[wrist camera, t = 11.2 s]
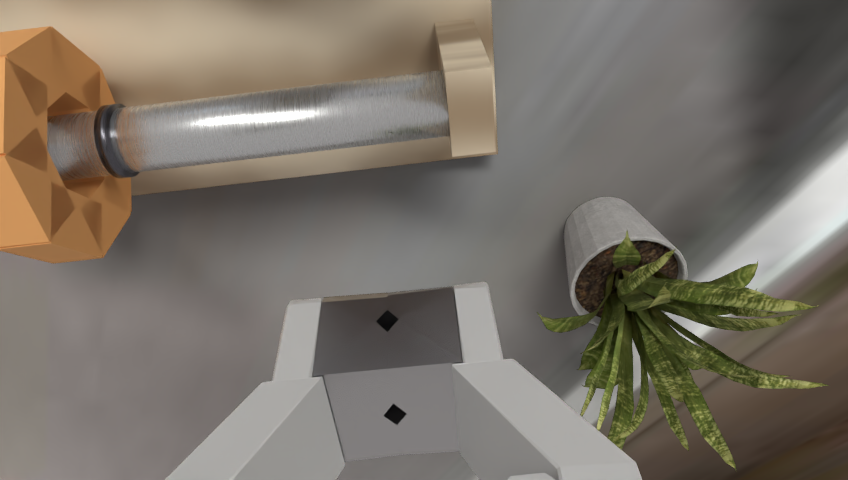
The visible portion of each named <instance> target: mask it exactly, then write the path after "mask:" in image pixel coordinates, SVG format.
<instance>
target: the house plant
mask: <svg viewBox="0 0 848 480" xmlns="http://www.w3.org/2000/svg"><path fill="white" fill-rule="evenodd" d="M564 242H565V252H566V262H567V272H568V282H569V292H570V298H571V302H572V306H573V307H574V309H575V310H576V312H577V313H578V315H579V316H575V317H567V318H558V319H551V318H546V317H542V316H541V315H540V314H538V315H539V316H540V318H541V320H542V321H543V323H544V325H545V326H546V328H547V329H549V330H551V331H553V332H560V333H562V332H568V331H571V330H574V329H576V328H578V327H581V326H583V325H585V324H587V323H590V324H593V325H596V326H598V328H597V331H596V333H595V334H594V336H593V338H592V339H591V341H590V343H589V344H588V346H587V348H586V349H585V351H584V352H583V356H582V360H581V365H580V367H579V369H577V370H587V369H592V371H591V372H590V373H589V375H588V376H587V379H586V381H585V386H584V387H590V388H589V391H588V394H587V397H586V400H585V403H584V406H583V408H582V411H581V414H580V415H581V416H583V414H584V412H585V410H586V408H587V407H588V405H589V403H590V401H591V399H592V397H593V395H594V393H595V390H596V388H601V389H605V392H604V395H603V398H602V403H601V408H600V414H599V419H598V423H597V430H598V431H599V430H600V428H601V425H602V423H603V420H604V418H605V416H606V414H607V411H608V409H609V404H610V400H611V396H612V392H613V389H614V386H616V385H617V384H618V392H617V400H616V407H615V413H614V417H613V421H612V425H611V429H610V432H609V435H608V439H609V440H610V441H611V442H612V443H614V444H615V445H616V446H617V447H618V448H619V449H621V450H622V447H623V445H624V442H625V439H626V437H627V436H628V435H630V434H631V433H632V432H633V431H635V430H636V429H637V428H638V426H639V425H640V423H641V422H642V420H643V418H644V415H645V412H646V409H647V404H648V392H649V386H648V376H647V372H648V374H649V375H650V377H651V380H652V382H653V384H654V387H655V389H656V392H657V394H658V397H659V400H660V402H661V405H662V408H663V410H664V413H665V416H666V418H667V421H668V423H669V426H670V427H671V429H672V430H673V432H674V433H675V435H676V436H677V437H678V438H679V440H680V442H681V444H682V445H683V446H684V447H685V448H686V449H687V450H688V451H689V448H688V443H687V439H686V436H685V433H684V430H683V428H682V425H681V423H680V420H679V418H678V415H677V413H676V410H675V407H674V405H673V402H672V399H671V397H670V395H671V396H672V397H673V398H674V399H676V400H678V401H680V402H683V400H684V402H685V404H686V406H687V408H688V410H689V412H690V414H691V416H692V418H693V420H694V422H695V423H696V425H697V427H698V429H699V431H700V433H701V435H702V436H703V437H704V438H705V440H706V441H707V442H708V443H709V444H710V445H711V446H712V447H713V448H714V449H715V450H716V451H717V452H718V453H719V454H720V456H721V457H722V458H723V460H724V461H725V462H726V463H728V464H729V465H731V466H732V467H734V468H735V470H736V465H735V463H734V461H733V458H732V455H731V453H730V451H729V449H728V447H727V444H726V442H725V440H724V438H723V436H722V434H721V432H720V431H719V429H718V427H717V425H716V423H715V421H714V419H713V417H712V415H711V412H710V410H709V408H708V406H707V404H706V402H705V400H704V398H703V396H702V394H701V392H700V390H699V388H698V387H697V385H696V384H695V383H694V381H693V378H692V376H691V373H690V371H689V369H688V367H689V368H690V369H692V370H698V369H701V368H704V369H706V370H708V371H711V372H715V373H718V374H720V375H722V376H724V377H726V378H729V379H731V380H733V381H735V382H739V383H742V384H745V385H748V386H751V387H755V388H772V389H774V388H797V389H802V388H814V387H819V386H825V385H826V384H821V383H813V382H807V381H800V380H791V379H785V378H782V377H788V376H785V375H775V374H768V373H764V372H761V371H758V370H755V369H752V368H749V367H747V366H745V365H743V364H740V363H738V362H737V361H735V360H733V359H732V358H730V357H728V356H727V355H725V354H724V353H722V352H721V351H719V350H718V349H716V348H715V347H713V346H711V345H710V344H708V343H706V342H705V341H703V340H702V339H700V338H699V337H697V336H695V335H694V334H692V333H691V332H689V331H688V330H686V329H685V328H684V327H682V326H681V325H679V324H678V323H676V322H675V321H673V320H672V319H670V318H669V317H668V316H667V315H665V314H664V313H665V312H669V313H672V314H675V315H679V316H682V317H685V318H687V319H690V320H692V321H695V322H698V323H701V324H704V325H707V326H710V327H715V328H720V329H725V330H734V331H749V330H755V329H760V328H766V327H773V326H777V325H781V324H783V323H785V322H786V321H788V320H789V319H791V318H793V317H794V316H797V315H789V316H782V317H776V318H761V319H740V318H730V317H721V316H719V315H726V314H733V315H736V316H746V317H753V316H755V317H765V316H771V315H775V314H778V313H773V312H766V311H783V312H785V311H794V310H804V309H810V308H814V307H817V306H814V307H813V306H809V305H806V304H804V303H801V302H798V301H789V300H782V299H776V298H773V297H771V296H768V295H766V294H764V293H761V292H758V291H756V290H757V289H756V290H752V289H749V288H745V286H746V285H747V284H749V283H750V281H751V280H752V278H753V277H754V275H755V272H756V269H757V266H758V261H757V264H750V265H746V266H744V267H741V268H739V269H737V270H735V271H733V272H731V273H729V274H727V275H725V276H723V277H721V278H718V279H716V280H713V281H710V282H700V283H699V282H693V281H688V280H687V276H688V273H687V264H686V261H685V260H684V258H683V256H682V254H681V252H680V251H679V250H678V249H676V248H675V247H674V246H673V245H672V244H671V243H670V242H669V241H668V240H667V239H666V238H665V237H664V236H663V235H662V234H661V233H660V232H659V231H658V230H656V229H655V228H654V227H653V226H652V225H651V224H650V223H649V222H648V221H647V220H646V219H645V218H644V217H643V216H642V215H641V214H640V213H639V212H638V211H636V210H635V209H634V208H633V207H632V206H631V205H630V204H629V203H628V202H626V201H624V200H622V199H620V198H615V197H599V198H596V199H592V200H589V201H587V202H585V203H583V204H582V205H580V206H579V207H578V208H576V209H575V210H574V211H573V212H572V213H571V215H570V216H569V217H568V219H567V221H566V224H565V229H564ZM676 247H677V246H676ZM754 309H756V310H754ZM759 310H766V311H759ZM670 325H671V326H672V327H673V328H675V329H676V330H677V331H679V332H680V333H682V334H683V335H685V336H686V337H687V338H689V339H691V340H692V341H694V342H695V343H697V344H699V345H700V346H702V347H703V348H705V349H703V348H701V347H699V346H696V345H694V344H693V343H691V342H689V341H688V340H686V339H685V338H683V337H682V336H680V335H679V334H678V333H677V332H676V331H675V330H674V329H673V328H672V327H671V326H670ZM632 338H633V341H634V343H635V346H636V348H637V351H638V353H639V355H640V361H641V392H640V399H639V403H638V406H637V409H636V412H635V414H634V417H633V419H632V414H633V409H634V401H633V354H632ZM581 354H582V353H581ZM705 366H706V367H705ZM582 386H583V385H582ZM826 386H828V385H826ZM631 420H632V422H631Z"/></svg>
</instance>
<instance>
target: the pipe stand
mask: <svg viewBox="0 0 848 480" xmlns="http://www.w3.org/2000/svg"><path fill="white" fill-rule="evenodd" d="M47 26H51V27H53V28H54V29H56V30H57V31H58V32H59V33H60V34H62V35H63V36H64V37H65V38H67V39H68V40H69V41H70V42H71V43H73V44H74V45H75V46H76V47H77V48H79V49H80V50H81V51H82V52H83V53H85V54H86V55H87V56H88V57H89V58H91V59H92V60H93V61H94V62H95V63H97V64H98V65H99V66H100V69H102V71H103V74H104V76H105V79H106V81H107V84H108V86H109V89H110V91H111V94H112V96H113V99H114V101H115V104H123V105H124V106H126V107H132V106H141V105H149V104H158V103H166V102H175V101H183V100H192V99H200V98H209V97H217V96H226V95H234V94H243V93H251V92H260V91H268V90H277V89H285V88H294V87H302V86H311V85H319V84H328V83H336V82H345V81H353V80H362V79H370V78H379V77H387V76H396V75H404V74H413V73H421V72H430V71H438V70H443V72H444V78H445V86H446V94H447V103H448V113H449V125H450V136H446V137H437V138H429V139H420V140H411V141H403V142H394V143H385V144H377V145H368V146H359V147H351V148H342V149H333V150H325V151H316V152H307V153H299V154H290V155H281V156H273V157H264V158H255V159H247V160H238V161H229V162H221V163H212V164H203V165H194V166H186V167H177V168H168V169H160V170H151V171H142V172H140V173H139V174H138V175H137V176H135V177H131V196H136V195H144V194H153V193H162V192H171V191H179V190H188V189H197V188H206V187H214V186H223V185H232V184H241V183H249V182H258V181H267V180H275V179H284V178H293V177H302V176H310V175H319V174H328V173H337V172H345V171H354V170H363V169H372V168H380V167H389V166H398V165H406V164H415V163H424V162H433V161H441V160H450V159H459V158H468V157H476V156H485V155H494V154H498V146H497V123H496V100H495V76H494V53H493V30H492V7H491V0H0V32H6V31H14V30H22V29H31V28H39V27H47Z"/></svg>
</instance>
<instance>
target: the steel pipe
mask: <svg viewBox="0 0 848 480" xmlns="http://www.w3.org/2000/svg"><path fill="white" fill-rule="evenodd" d="M446 136H450V125H449V113H448V103H447V94H446V86H445V78H444V72H443V70H438V71H430V72H421V73H413V74H404V75H396V76H387V77H379V78H370V79H362V80H353V81H345V82H336V83H328V84H319V85H311V86H302V87H294V88H285V89H277V90H268V91H260V92H251V93H243V94H234V95H226V96H217V97H209V98H200V99H192V100H183V101H175V102H166V103H158V104H149V105H141V106H132V107H126V106H124V105H123V104H111V105H103V106H101V107H100V108H99V109H98V111H90V112H81V113H73V114H64V115H56V116H47V150H48V152H49V154H50V157H51V159H52V161H53V163H54V165H55V167H56V169H57V171H58V173H59V175H60V177H61V179H62V181H64V180H73V179H82V178H90V177H99V176H108V175H112V176H114V177H116V178H128V177H135V176H137V175H138V174H139V173H140V172H142V171H151V170H160V169H168V168H177V167H186V166H194V165H203V164H212V163H221V162H229V161H238V160H247V159H255V158H264V157H273V156H281V155H290V154H299V153H307V152H316V151H325V150H333V149H342V148H351V147H359V146H368V145H377V144H385V143H394V142H403V141H411V140H420V139H429V138H437V137H446Z"/></svg>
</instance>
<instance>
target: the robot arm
mask: <svg viewBox="0 0 848 480" xmlns="http://www.w3.org/2000/svg"><path fill="white" fill-rule="evenodd" d="M454 451H460V455H461V456H462V457H463V459H464V460H465V461H466V463H467V464H468V465H469V466H470V468H471V469H472V470H473V472H474V473H475V474H476V475H477V477H478V478H479V479H480V480H642V478H641V475H640V472H639V470H638V467H637V464H636V462H635V461H634V460H632V459H631V458H630V457H629V456H628V455H627V454H625V453H624V452H623V451H622V450H621V449H619V448H618V447H617V446H616V445H615V444H614V443H612V442H611V441H610V440H609V439H608V438H606V437H605V436H604V435H603V434H602V433H601V432H599V431H598V430H597V429H596V428H595V427H594V426H592V425H591V424H590V423H589V422H588V421H586V420H585V419H584V418H583V417H582V416H581V415H579V414H578V413H577V412H576V411H575V410H573V409H572V408H571V407H570V406H569V405H568V404H566V403H565V402H564V401H563V400H562V399H560V398H559V397H558V396H557V395H556V394H555V393H553V392H552V391H551V390H550V389H549V388H547V387H546V386H545V385H544V384H543V383H542V382H540V381H539V380H538V379H537V378H536V377H534V376H533V375H532V374H531V373H530V372H529V371H527V370H526V369H525V368H524V367H523V366H521V365H520V364H519V363H518V362H517V361H516V360H514V359H503V355H502V350H501V345H500V341H499V336H498V331H497V326H496V321H495V316H494V311H493V306H492V301H491V296H490V291H489V286H488V284H487V283H486V282H478V283H469V284H461V285H454V286H453V287H452V286H449V287H440V288H430V289H420V290H410V291H400V292H391V293H376V294H362V295H348V296H335V297H324V298H315V299H302V300H291V301H290V303H289V304H288V306H287V307H286V312H285V317H284V322H283V327H282V332H281V337H280V342H279V347H278V352H277V357H276V363H275V368H274V373H273V378H272V381H269V382H262V383H261V384H260V385H259V386H258V387H257V388H256V389H255V390H254V391H253V392H252V393H251V394H250V395H249V396H248V397H247V398H246V399H245V400H244V401H243V402H242V403H241V404H240V405H239V406H238V407H237V408H236V409H235V410H234V411H233V412H232V413H231V414H230V415H229V416H228V417H227V418H226V419H225V420H224V421H223V422H222V423H221V424H220V425H219V426H218V427H217V428H216V429H215V430H214V431H213V432H212V433H211V434H210V435H209V436H208V437H207V438H206V439H205V440H204V441H203V442H202V443H201V444H200V445H199V446H198V447H197V448H196V449H195V450H194V451H193V452H192V453H191V454H190V455H189V456H188V457H187V458H186V459H185V460H184V461H183V462H182V463H181V464H180V465H179V466H178V467H177V468H176V469H175V470H174V471H173V472H172V473H171V474H170V475H169V476H168V477H167V478H166V479H165V480H336V479H337V478H338V476H339V474H340V473H341V471H342V470H343V468H344V466H345V462H347V461H355V460H363V459H372V458H380V457H389V456H397V455H408V454H424V453H439V452H454Z"/></svg>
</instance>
